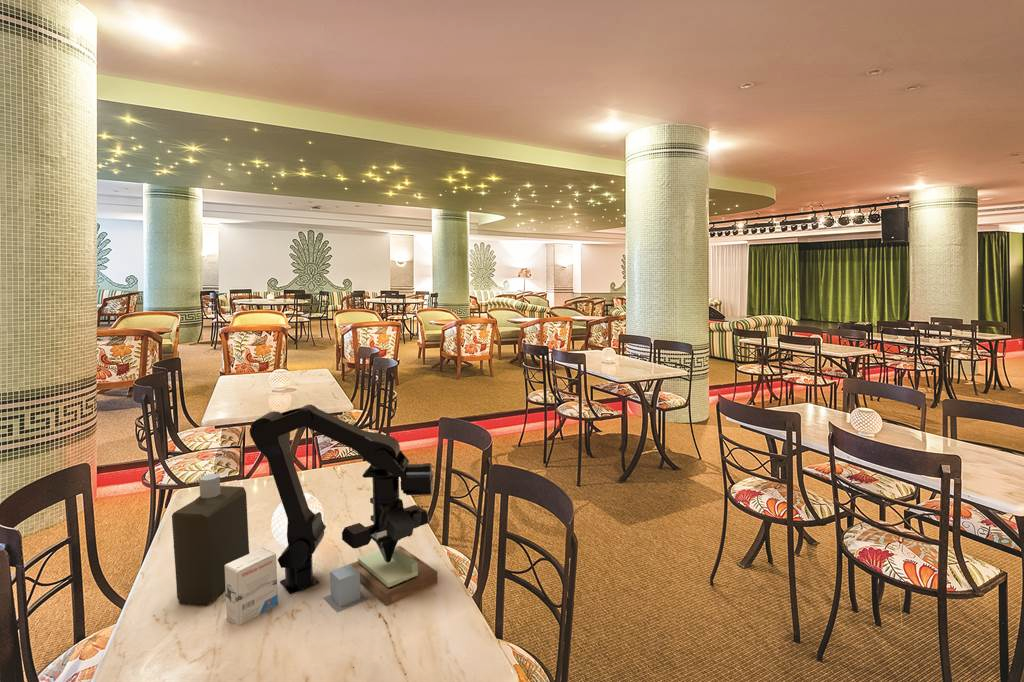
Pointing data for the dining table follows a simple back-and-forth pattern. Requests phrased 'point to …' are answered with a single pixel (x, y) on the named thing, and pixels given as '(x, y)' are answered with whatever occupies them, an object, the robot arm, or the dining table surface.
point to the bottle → (208, 540)
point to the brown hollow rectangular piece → (388, 596)
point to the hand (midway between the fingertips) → (387, 561)
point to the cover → (390, 567)
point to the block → (345, 585)
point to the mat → (338, 609)
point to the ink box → (251, 585)
